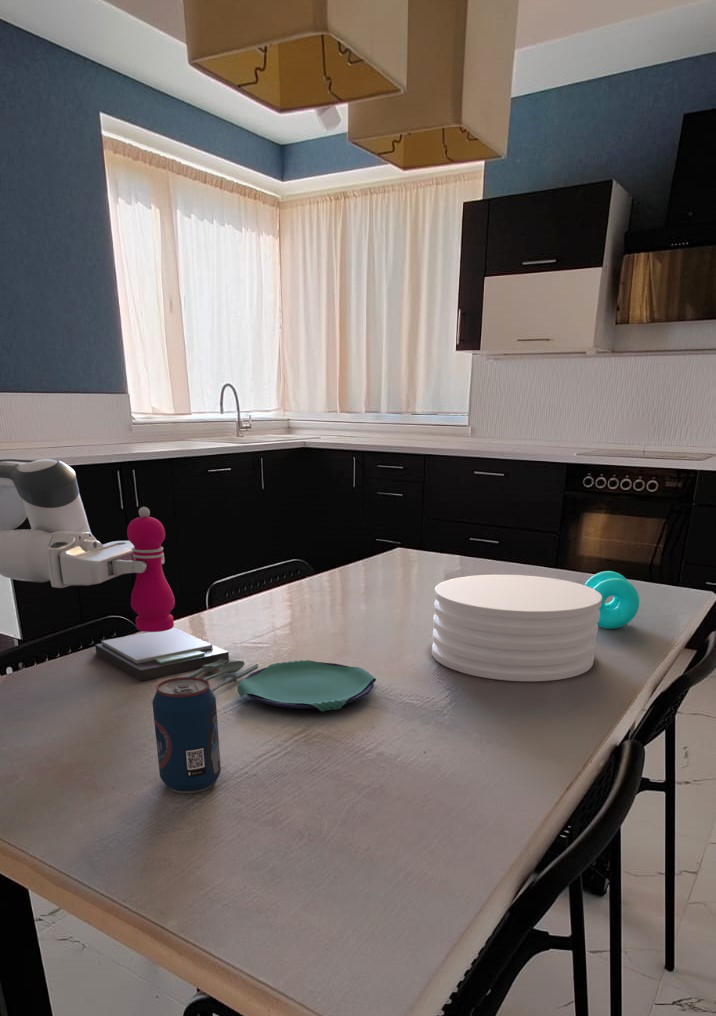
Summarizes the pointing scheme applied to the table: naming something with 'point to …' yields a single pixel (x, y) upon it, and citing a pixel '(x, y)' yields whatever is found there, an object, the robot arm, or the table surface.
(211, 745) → the soda can
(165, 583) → the pepper mill
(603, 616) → the donuts
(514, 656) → the plate stack
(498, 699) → the table surface
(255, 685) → the cutlery set
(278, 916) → the table surface
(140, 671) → the kitchen scale
